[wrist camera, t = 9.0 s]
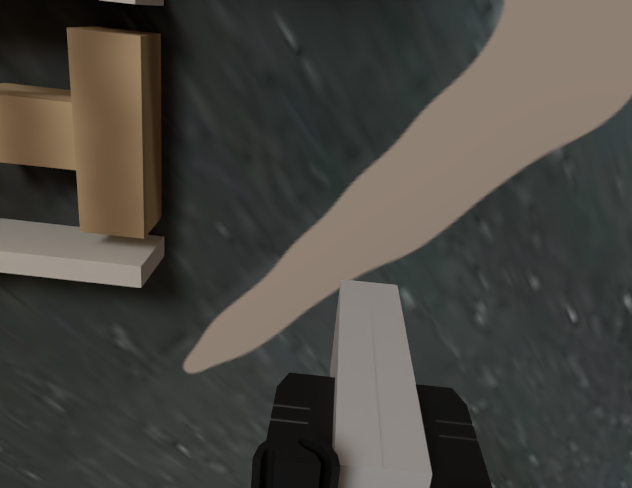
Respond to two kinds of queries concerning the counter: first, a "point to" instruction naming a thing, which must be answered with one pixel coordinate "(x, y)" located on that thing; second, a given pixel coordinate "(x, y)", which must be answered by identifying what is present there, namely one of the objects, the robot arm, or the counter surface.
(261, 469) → the robot arm
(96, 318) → the counter surface
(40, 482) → the counter surface
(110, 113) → the tee
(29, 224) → the bay
